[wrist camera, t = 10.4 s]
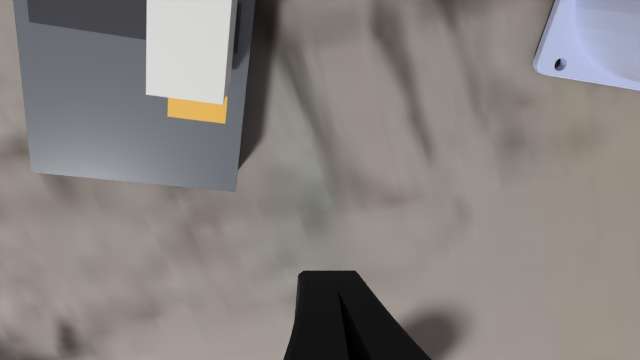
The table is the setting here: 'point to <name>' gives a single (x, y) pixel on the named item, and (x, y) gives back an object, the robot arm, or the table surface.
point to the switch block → (121, 99)
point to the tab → (190, 48)
